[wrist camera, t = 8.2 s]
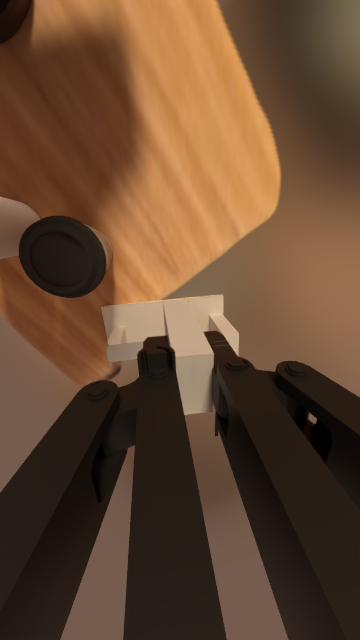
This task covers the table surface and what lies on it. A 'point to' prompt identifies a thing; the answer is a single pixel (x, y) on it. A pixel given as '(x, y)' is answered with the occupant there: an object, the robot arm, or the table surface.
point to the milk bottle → (13, 225)
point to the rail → (158, 324)
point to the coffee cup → (64, 256)
